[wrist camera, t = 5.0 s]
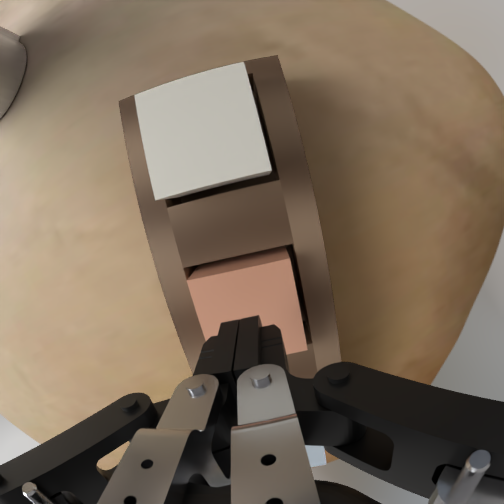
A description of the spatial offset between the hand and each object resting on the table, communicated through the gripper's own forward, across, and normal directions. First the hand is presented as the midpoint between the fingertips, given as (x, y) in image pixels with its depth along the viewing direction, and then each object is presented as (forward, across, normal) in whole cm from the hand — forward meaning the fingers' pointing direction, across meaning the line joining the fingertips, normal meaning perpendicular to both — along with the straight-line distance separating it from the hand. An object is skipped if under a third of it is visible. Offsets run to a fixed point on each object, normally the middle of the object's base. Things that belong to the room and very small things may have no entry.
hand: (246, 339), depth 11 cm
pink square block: (+6, 0, 0) cm, 6 cm away
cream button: (+5, 0, -9) cm, 10 cm away
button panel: (+8, 0, 0) cm, 8 cm away
